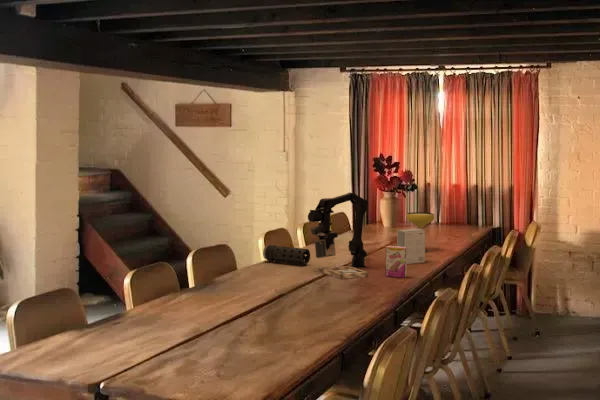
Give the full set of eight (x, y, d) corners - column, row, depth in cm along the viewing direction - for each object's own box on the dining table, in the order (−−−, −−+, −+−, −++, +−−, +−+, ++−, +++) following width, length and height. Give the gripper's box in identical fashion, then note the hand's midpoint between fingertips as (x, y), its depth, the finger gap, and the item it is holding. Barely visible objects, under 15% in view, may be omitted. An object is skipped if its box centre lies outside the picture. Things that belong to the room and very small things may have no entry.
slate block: (354, 275, 409) (354, 270, 408) (357, 277, 404) (358, 271, 404) (340, 276, 406) (340, 270, 406) (344, 278, 401) (344, 272, 401)
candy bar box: (384, 276, 405) (385, 246, 404) (386, 275, 410) (387, 245, 408) (405, 278, 401) (405, 248, 400) (407, 276, 406) (407, 246, 405)
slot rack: (349, 270, 422) (349, 266, 422) (368, 276, 404) (368, 272, 404) (322, 272, 415) (322, 268, 415) (340, 279, 396) (340, 274, 396)
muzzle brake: (302, 267, 431) (302, 249, 430) (262, 262, 446) (262, 245, 445) (310, 264, 440) (310, 247, 439) (270, 260, 454) (270, 243, 453)
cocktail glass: (401, 249, 502) (402, 212, 500) (426, 248, 506) (427, 212, 504) (412, 253, 484) (413, 215, 482) (437, 252, 489) (438, 215, 486)
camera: (319, 258, 416) (317, 240, 416) (314, 258, 421) (313, 240, 421) (337, 255, 421) (335, 238, 421) (332, 255, 426) (331, 238, 426)
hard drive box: (417, 260, 457) (418, 228, 455) (425, 262, 450) (426, 230, 449) (396, 262, 450) (397, 229, 449) (403, 264, 444) (404, 231, 442)
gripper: (305, 219, 425) (305, 247, 426) (320, 223, 408) (320, 251, 409) (322, 219, 429) (322, 245, 431) (338, 222, 413) (337, 250, 414)
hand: (325, 248), depth 421 cm, fingers closed on camera, 5 cm apart
